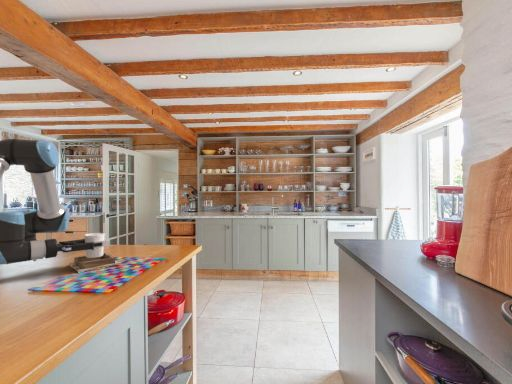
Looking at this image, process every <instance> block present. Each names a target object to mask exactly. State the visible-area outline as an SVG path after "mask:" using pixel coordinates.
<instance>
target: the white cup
mask: <svg viewBox="0 0 512 384" xmlns="http://www.w3.org/2000/svg"><path fill="white" fill-rule="evenodd" d="M105 236H106V233H104V232H93V233H92V232H91V233H86V234H84V239H85V243H91V242H95V241H103V240H105V238H106V237H105ZM104 249H105V247H98V248H94V250H92V249H90V250H84V251H85V256H86V257H87V258H96V257H101V256H103V253H105V252H104Z"/></svg>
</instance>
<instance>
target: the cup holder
mask: <svg viewBox="0 0 512 384" xmlns="http://www.w3.org/2000/svg"><path fill="white" fill-rule="evenodd" d="M73 260H74V261H73V262H70V263H69V264H68V265H69V266H70V267H71V268H72V269H73V270H74V269H75V270H76V271H77V272H81V271H86V270H93V269H98V268H103V267H107V266H112V265H118V264H120V265H121V262H118V261H117V260H116V257H115V256H113V255H111V254H109V253H107V252H103V256H101V257H96V258H87V257H86V255H83V256H75V257H74V259H73ZM75 270H74V271H75ZM98 270H99V269H98ZM76 271H75V272H76ZM93 271H94V270H93ZM77 272H76V273H77Z"/></svg>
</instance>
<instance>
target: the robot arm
mask: <svg viewBox="0 0 512 384" xmlns="http://www.w3.org/2000/svg"><path fill="white" fill-rule="evenodd" d="M59 164H60V157H59V150H58V149H57V146H56V145H55V144H54V143H53V142H51V141H47V140H46V141H45V140H41V139H40V140H33V139H20V138H19V139H17V138H6V139H5V138H4V139H2V140H0V181H1V180H2V178H3V175H4V173H5V172H6V171H8V170H9V169H10V167H11V166H23V168H24V170H25V172H27V173H28V174H30V177H31V182H32V185H33V189H34V192H35V195H36V199H37V204H38V207H39V209H38V210H37V209H36V208H31V209H23V210H15V211H0V265H10V264H15V263H21V262H22V263H23V262H28V261H33V262H37V260H42V259H44V258H45V259H50V258H56V257H57V256H58V252H62V253H70V252H71V253H72V252H79V251H80V252H81V251H85V250H90V249H92V250H94V248H98V247H104V248H105V247H111V239H106V240H103V241H95V242H91V243H85V238H81V239H80V238H79V239H73V240H67V241H57V238H49V239H45V240H43V239H37V234H47V233H48V234H50V233H51V234H52V233H63V232H66V231H67V230H68V227H69V225H70V218H71V217H70V216H71V215H70V214H71V213H70V210H69V211H68V210H66V209H65V207H64V206H63V205H61V204H60V203H61V202H60V198H59V194H58V189H57V184H56V180H55V179H56V178H55V175H54V170H56V167H57V166H58V165H59Z"/></svg>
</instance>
